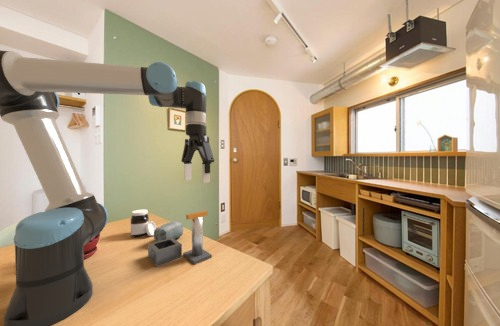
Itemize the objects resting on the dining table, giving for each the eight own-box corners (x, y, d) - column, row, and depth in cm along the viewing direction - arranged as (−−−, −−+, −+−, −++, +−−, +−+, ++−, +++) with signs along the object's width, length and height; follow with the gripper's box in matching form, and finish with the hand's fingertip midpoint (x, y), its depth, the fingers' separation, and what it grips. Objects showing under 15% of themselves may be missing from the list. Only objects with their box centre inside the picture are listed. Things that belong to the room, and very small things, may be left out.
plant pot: (73, 267, 64) (73, 232, 64) (44, 263, 67) (44, 230, 67) (109, 250, 77) (109, 220, 77) (83, 247, 80) (83, 219, 80)
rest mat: (194, 264, 66) (194, 261, 66) (183, 255, 73) (183, 252, 72) (211, 257, 71) (211, 254, 71) (199, 249, 77) (199, 247, 77)
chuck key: (209, 251, 73) (209, 211, 73) (190, 259, 68) (189, 216, 67) (203, 248, 76) (203, 210, 76) (185, 255, 70) (184, 213, 70)
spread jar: (132, 232, 96) (132, 209, 96) (157, 228, 101) (156, 207, 101) (128, 241, 85) (128, 215, 85) (156, 237, 90) (156, 212, 90)
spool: (163, 242, 76) (161, 218, 81) (149, 249, 80) (147, 225, 84) (189, 239, 88) (186, 217, 92) (176, 244, 91) (173, 224, 95)
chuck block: (156, 266, 65) (156, 252, 65) (148, 257, 71) (148, 244, 71) (181, 257, 71) (181, 244, 71) (172, 249, 78) (171, 237, 77)
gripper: (224, 121, 65) (224, 183, 65) (189, 130, 83) (190, 178, 83) (204, 118, 60) (205, 185, 60) (172, 128, 77) (173, 179, 78)
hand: (196, 181), depth 71 cm, fingers open, 13 cm apart
